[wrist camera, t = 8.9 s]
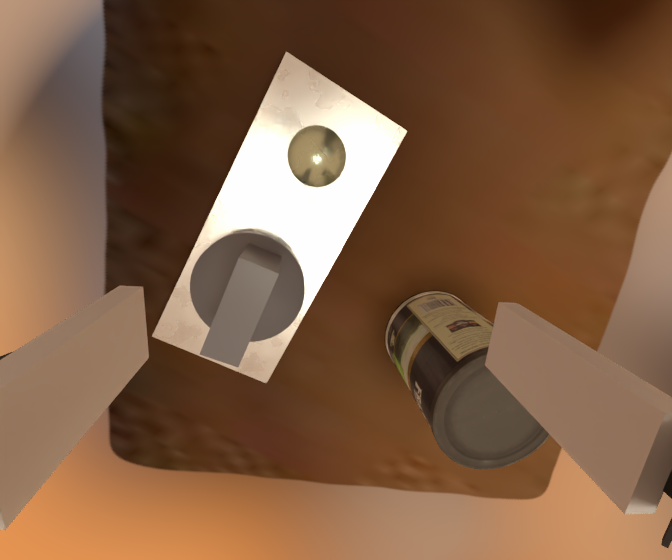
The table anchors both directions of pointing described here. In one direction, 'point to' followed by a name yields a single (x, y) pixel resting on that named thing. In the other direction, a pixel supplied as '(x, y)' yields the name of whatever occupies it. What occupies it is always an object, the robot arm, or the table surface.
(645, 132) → the table surface
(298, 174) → the base plate
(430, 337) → the coffee can
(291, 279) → the wing knob
